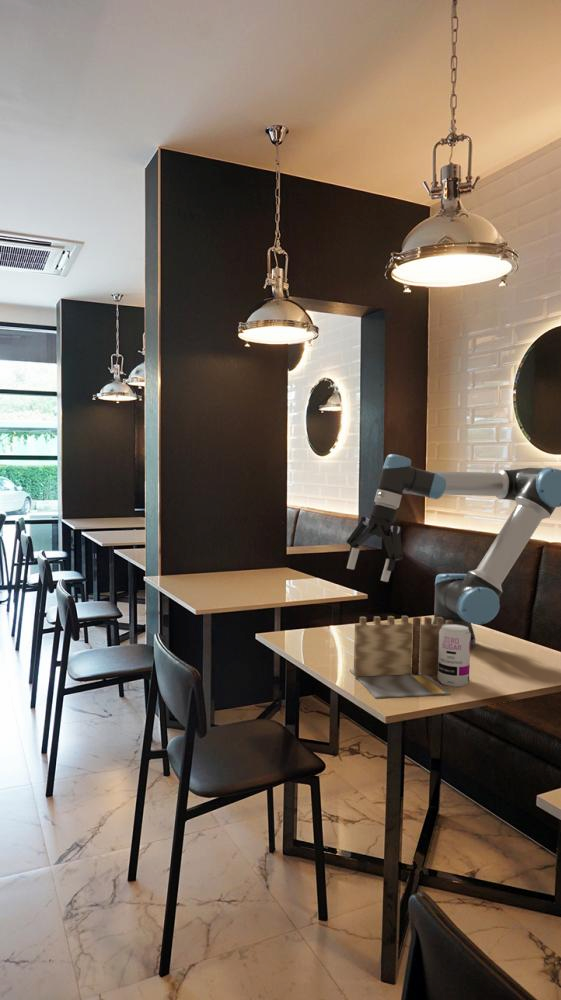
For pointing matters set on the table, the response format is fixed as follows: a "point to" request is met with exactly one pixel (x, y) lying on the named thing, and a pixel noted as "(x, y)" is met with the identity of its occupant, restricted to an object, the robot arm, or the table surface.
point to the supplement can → (454, 655)
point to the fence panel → (383, 647)
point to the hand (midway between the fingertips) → (366, 575)
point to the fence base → (413, 666)
